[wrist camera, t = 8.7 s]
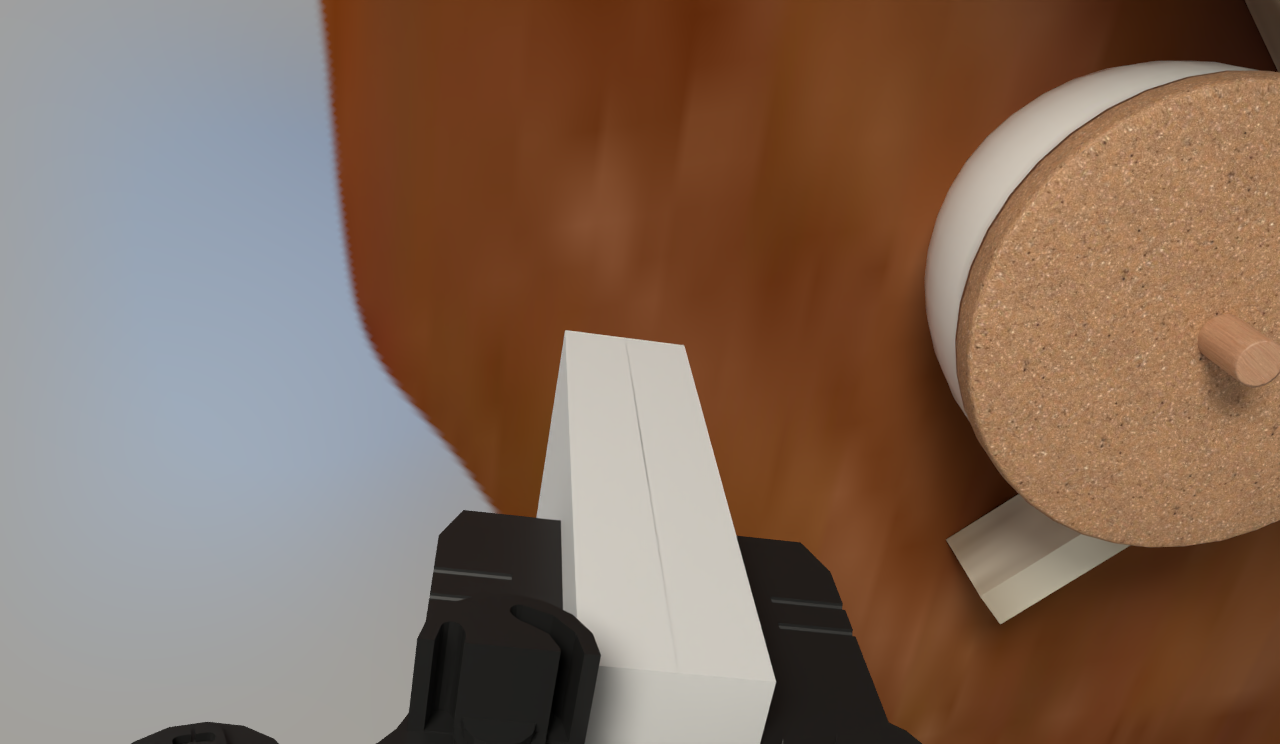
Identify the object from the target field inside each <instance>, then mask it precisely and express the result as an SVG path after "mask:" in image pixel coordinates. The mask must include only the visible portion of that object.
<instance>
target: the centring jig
mask: <svg viewBox="0 0 1280 744" xmlns="http://www.w3.org/2000/svg"><path fill="white" fill-rule="evenodd" d="M1245 2H1246V4H1247V6H1248V9H1249V11H1250V13H1251V15H1252V17H1253V19H1254V21H1255V24H1256V26H1257V28H1258V30H1259V32H1260V34H1261V36H1262V38H1263V41H1264V43H1265V45H1266V47H1267V49H1268V51H1269V53H1270V56H1271V58H1272V60H1273V62H1274V64H1275V66H1276V68H1277V70H1278V72H1279V73H1280V0H1245ZM946 540H947V542H948V544H949V545H950V547H951V549H952V550H953V552H954V554H955V555H956V557H957V559H958V560H959V562H960V564H961V565H962V567H963V569H964V570H965V572H966V574H967V575H968V577H969V579H970V580H971V582H972V584H973V585H974V587H975V589H976V590H977V592H978V594H979V595H980V597H981V598H982V600H983V601H984V602H985V604H986V605H987V607H988V608H989V609H990V611H991V612H992V613H993V615H994V616H995V618H996V619H997V620H998V622H999V623H1000V624H1002V623H1004V622H1005V621H1007V620H1008V619H1010V618H1012V617H1013V616H1015V615H1017V614H1018V613H1020V612H1022V611H1023V610H1025V609H1027V608H1028V607H1030V606H1031V605H1033V604H1035V603H1036V602H1038V601H1040V600H1041V599H1043V598H1045V597H1046V596H1048V595H1050V594H1051V593H1053V592H1054V591H1056V590H1058V589H1059V588H1061V587H1063V586H1064V585H1066V584H1068V583H1069V582H1071V581H1073V580H1074V579H1076V578H1077V577H1079V576H1081V575H1082V574H1084V573H1086V572H1087V571H1089V570H1091V569H1092V568H1094V567H1096V566H1097V565H1099V564H1100V563H1102V562H1104V561H1105V560H1107V559H1109V558H1110V557H1112V556H1114V555H1115V554H1117V553H1119V552H1120V551H1122V550H1123V549H1125V548H1127V547H1128V546H1130V545H1124V544H1115V543H1111V542H1108V541H1104V540H1100V539H1097V538H1093V537H1090V536H1086V535H1082V534H1080V533H1078V532H1076V531H1074V530H1072V529H1070V528H1068V527H1065V526H1063V525H1061V524H1059V523H1057V522H1055V521H1053V520H1051V519H1050V518H1049V517H1047V516H1046V515H1044V514H1043V513H1041V512H1040V511H1039V510H1037V509H1036V508H1034V507H1033V506H1031V505H1030V504H1029V503H1027V502H1026V501H1025V500H1024V499H1023V498H1022V497H1021V496H1020V495H1019V494H1018V495H1016V496H1015V497H1013V498H1012V499H1010V500H1008V501H1007V502H1005V503H1004V504H1002V505H1000V506H999V507H997V508H996V509H994V510H992V511H991V512H989V513H988V514H986V515H985V516H983V517H981V518H980V519H978V520H977V521H975V522H973V523H972V524H970V525H969V526H967V527H965V528H964V529H962V530H961V531H959V532H957V533H956V534H954V535H953V536H951V537H949V538H948V539H946Z"/></svg>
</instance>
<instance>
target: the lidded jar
mask: <svg viewBox="0 0 1280 744" xmlns="http://www.w3.org/2000/svg"><path fill="white" fill-rule="evenodd" d="M924 281H925V302H926V313H927V318H928V324H929V328H930V333H931V337H932V342H933V346H934V351H935V354H936V356H937V359H938V361H939V363H940V366H941V368H942V371H943V373H944V375H945V378H946V380H947V383H948V385H949V387H950V390H951V392H952V394H953V397H954V399H955V400H956V402H957V403H958V405H959V406H960V408H961V409H962V411H963V413H964V414H965V416H966V417H967V419H968V420H969V422H970V423H971V426H972V428H973V431H974V433H975V435H976V438H977V439H978V441H979V443H980V444H981V446H982V447H983V449H984V450H985V452H986V453H987V455H988V456H989V458H990V459H991V461H992V462H993V464H994V465H995V467H996V468H997V470H998V471H999V473H1000V474H1001V475H1002V477H1003V478H1004V479H1005V480H1006V481H1007V482H1008V483H1009V484H1010V485H1011V486H1012V487H1013V488H1014V489H1015V490H1016V491H1017V493H1018V494H1019V495H1020V496H1021V497H1022V498H1023V499H1024V500H1025V501H1026V502H1027V503H1029V504H1030V505H1031V506H1033V507H1034V508H1036V509H1037V510H1039V511H1040V512H1041V513H1043V514H1044V515H1046V516H1047V517H1049V518H1050V519H1051V520H1053V521H1055V522H1057V523H1059V524H1061V525H1063V526H1065V527H1068V528H1070V529H1072V530H1074V531H1076V532H1078V533H1080V534H1082V535H1086V536H1090V537H1093V538H1097V539H1100V540H1104V541H1108V542H1111V543H1115V544H1124V545H1132V546H1141V547H1178V546H1189V545H1196V544H1202V543H1209V542H1215V541H1222V540H1225V539H1228V538H1232V537H1235V536H1238V535H1241V534H1244V533H1248V532H1251V531H1254V530H1257V529H1260V528H1262V527H1264V526H1267V525H1269V524H1271V523H1274V522H1276V521H1278V520H1280V73H1279V72H1273V71H1260V70H1255V69H1251V68H1245V67H1240V66H1234V65H1229V64H1223V63H1218V62H1205V61H1152V62H1146V63H1139V64H1133V65H1126V66H1120V67H1114V68H1108V69H1103V70H1100V71H1097V72H1094V73H1091V74H1088V75H1085V76H1082V77H1079V78H1075V79H1073V80H1071V81H1069V82H1067V83H1065V84H1063V85H1061V86H1058V87H1056V88H1054V89H1052V90H1050V91H1048V92H1046V93H1044V94H1042V95H1041V96H1039V97H1038V98H1036V99H1035V100H1033V101H1032V102H1030V103H1029V104H1027V105H1026V106H1024V107H1023V108H1021V109H1020V110H1018V111H1017V112H1016V113H1014V114H1013V115H1011V116H1010V117H1009V118H1007V119H1006V120H1005V121H1004V122H1003V123H1002V124H1001V125H1000V126H999V127H997V128H996V129H995V130H994V131H993V132H992V133H991V134H990V135H989V136H987V137H986V138H985V140H984V141H983V142H982V143H981V144H980V146H979V147H978V148H977V149H976V150H975V152H974V153H973V154H972V155H971V156H970V158H969V159H968V160H967V161H966V163H965V164H964V166H963V167H962V169H961V171H960V172H959V174H958V175H957V177H956V178H955V180H954V182H953V183H952V185H951V186H950V188H949V191H948V193H947V195H946V197H945V200H944V202H943V204H942V206H941V209H940V211H939V213H938V216H937V219H936V223H935V226H934V230H933V234H932V237H931V241H930V244H929V248H928V254H927V262H926V271H925V280H924Z"/></svg>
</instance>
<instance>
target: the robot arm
mask: <svg viewBox="0 0 1280 744" xmlns="http://www.w3.org/2000/svg"><path fill="white" fill-rule="evenodd" d="M852 631H853V629H852V627H851V624H850V622H849V619H848V616H847V614H846V611H845V610H842V601H841V598H840V596H839V593H838V591H837V588H836V586H835V583H834V580H833V578H832V575H831V573H830V571H829V570H828V569H827V568H826V567H825V566H824V565H823V564H822V563H821V562H820V561H819V560H818V559H817V558H816V557H815V556H814V555H813V554H812V553H811V552H810V551H809V550H808V549H807V548H806V547H805V546H803V545H802V544H801V543H799V542H790V541H781V540H771V539H762V538H753V537H743V536H736V533H735V530H734V526H733V522H732V519H731V515H730V511H729V508H728V504H727V500H726V497H725V493H724V490H723V486H722V482H721V479H720V475H719V471H718V468H717V464H716V460H715V457H714V453H713V449H712V446H711V442H710V438H709V435H708V431H707V427H706V424H705V420H704V416H703V413H702V409H701V405H700V402H699V398H698V394H697V391H696V387H695V383H694V380H693V376H692V372H691V369H690V365H689V361H688V358H687V354H686V350H685V347H684V345H677V344H669V343H661V342H653V341H645V340H637V339H630V338H622V337H614V336H606V335H598V334H591V333H583V332H575V331H567V330H565V335H564V342H563V348H562V355H561V361H560V368H559V374H558V381H557V387H556V394H555V401H554V407H553V414H552V420H551V427H550V433H549V440H548V446H547V453H546V459H545V466H544V473H543V479H542V486H541V492H540V499H539V505H538V512H537V518H532V517H523V516H514V515H504V514H495V513H486V512H476V511H466V510H463V511H462V513H460V514H459V515H458V516H457V517H456V518H455V519H454V520H453V521H452V523H450V524H449V526H448V527H447V528H446V529H445V530H444V531H443V532H442V533H441V534H440V535H439V538H438V545H437V552H436V558H435V565H434V572H433V578H432V585H431V591H430V598H429V604H428V611H427V617H426V622H425V624H424V627H423V629H422V631H421V632H420V634H419V636H418V638H417V646H416V656H415V664H414V673H413V682H412V691H411V700H410V708H409V713H408V715H407V716H406V717H405V719H404V720H403V721H402V722H401V724H400V725H399V726H398V728H397V729H396V730H394V731H393V732H392V733H390V734H389V735H388V736H386V737H385V738H384V739H382V740H381V741H380V742H378V743H376V744H922V743H921V742H919V741H918V740H917V739H916V738H914V737H913V736H912V735H911V734H909V733H908V732H907V731H905V730H903V729H901V728H899V727H897V726H895V725H893V724H890V723H889V722H888V720H887V717H886V714H885V712H884V709H883V707H882V704H881V702H880V699H879V696H878V694H877V691H876V689H875V686H874V684H873V681H872V678H871V676H870V673H869V671H868V668H867V665H866V663H865V660H864V658H863V655H862V653H861V650H860V647H859V645H858V642H857V640H856V637H855V636H852ZM132 744H278V743H277V741H276V740H275V739H273V738H271V737H269V736H266V735H264V734H262V733H259V732H257V731H255V730H252V729H250V728H248V727H245V726H241V725H231V724H222V723H213V722H203V723H196V724H190V725H182V726H175V727H169V728H166V729H164V730H161V731H159V732H157V733H154V734H152V735H149V736H147V737H145V738H142V739H140V740H137V741H135V742H133V743H132Z"/></svg>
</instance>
